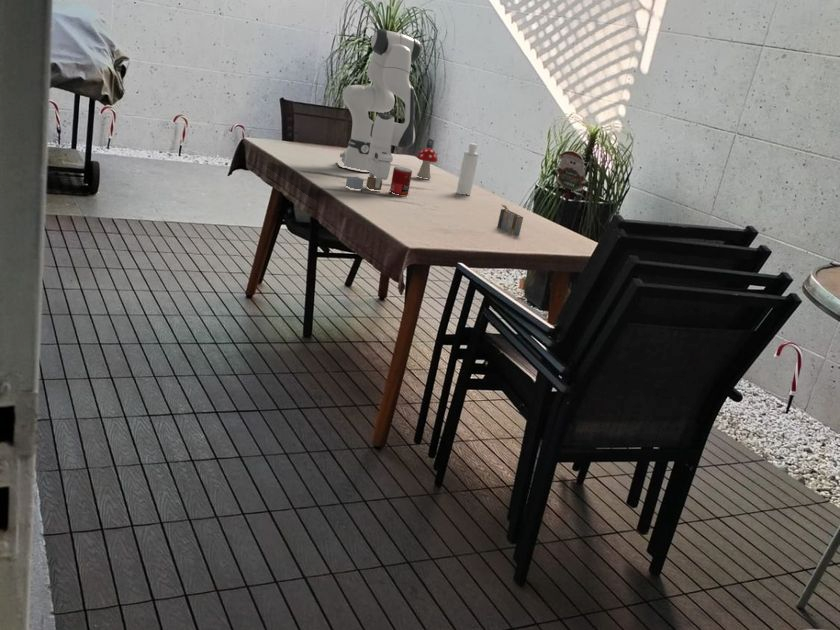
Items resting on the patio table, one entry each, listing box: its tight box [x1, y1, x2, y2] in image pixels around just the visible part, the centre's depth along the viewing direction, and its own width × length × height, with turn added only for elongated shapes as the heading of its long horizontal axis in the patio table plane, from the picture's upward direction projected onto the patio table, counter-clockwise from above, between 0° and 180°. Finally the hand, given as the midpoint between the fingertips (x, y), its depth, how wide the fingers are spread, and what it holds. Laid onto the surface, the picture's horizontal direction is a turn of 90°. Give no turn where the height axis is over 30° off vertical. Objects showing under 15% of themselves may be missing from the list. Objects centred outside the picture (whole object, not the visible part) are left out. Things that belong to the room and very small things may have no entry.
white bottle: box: [456, 142, 479, 196], centre depth 374 cm, size 7×7×25 cm
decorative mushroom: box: [416, 147, 438, 180], centre depth 398 cm, size 10×9×15 cm
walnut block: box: [365, 176, 383, 190], centre depth 344 cm, size 5×5×5 cm
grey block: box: [345, 176, 365, 190], centre depth 337 cm, size 5×5×5 cm
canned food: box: [389, 166, 413, 196], centre depth 346 cm, size 8×8×11 cm
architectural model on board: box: [496, 204, 524, 236], centre depth 314 cm, size 11×3×10 cm, turn 30°
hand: (374, 185), depth 344 cm, fingers open, 6 cm apart
